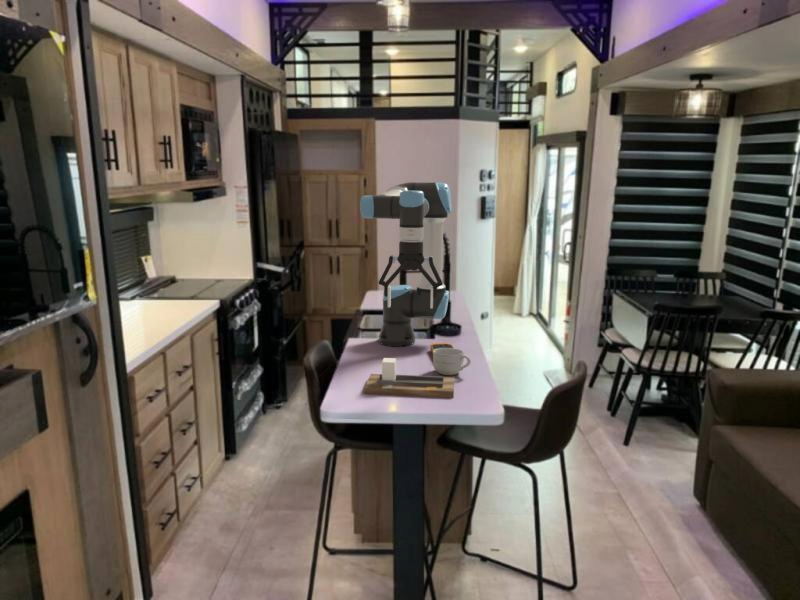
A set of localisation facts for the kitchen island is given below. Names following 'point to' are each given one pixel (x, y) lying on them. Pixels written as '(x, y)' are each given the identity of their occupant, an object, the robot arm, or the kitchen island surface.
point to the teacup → (449, 360)
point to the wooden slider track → (411, 386)
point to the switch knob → (389, 369)
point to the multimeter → (440, 346)
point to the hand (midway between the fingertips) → (410, 307)
